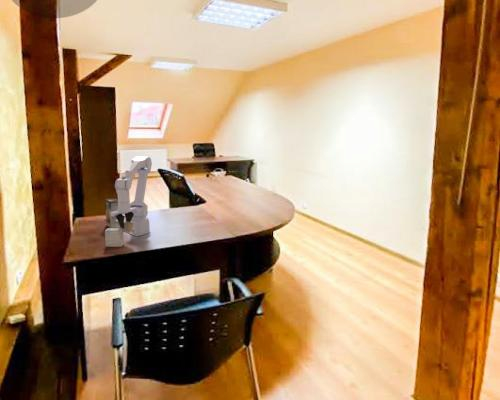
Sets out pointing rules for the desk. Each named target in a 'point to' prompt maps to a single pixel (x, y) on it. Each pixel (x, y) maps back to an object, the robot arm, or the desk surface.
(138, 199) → the robot arm
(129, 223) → the beige block
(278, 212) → the desk surface
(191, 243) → the desk surface
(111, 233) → the medicine box
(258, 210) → the desk surface
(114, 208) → the coffee box
